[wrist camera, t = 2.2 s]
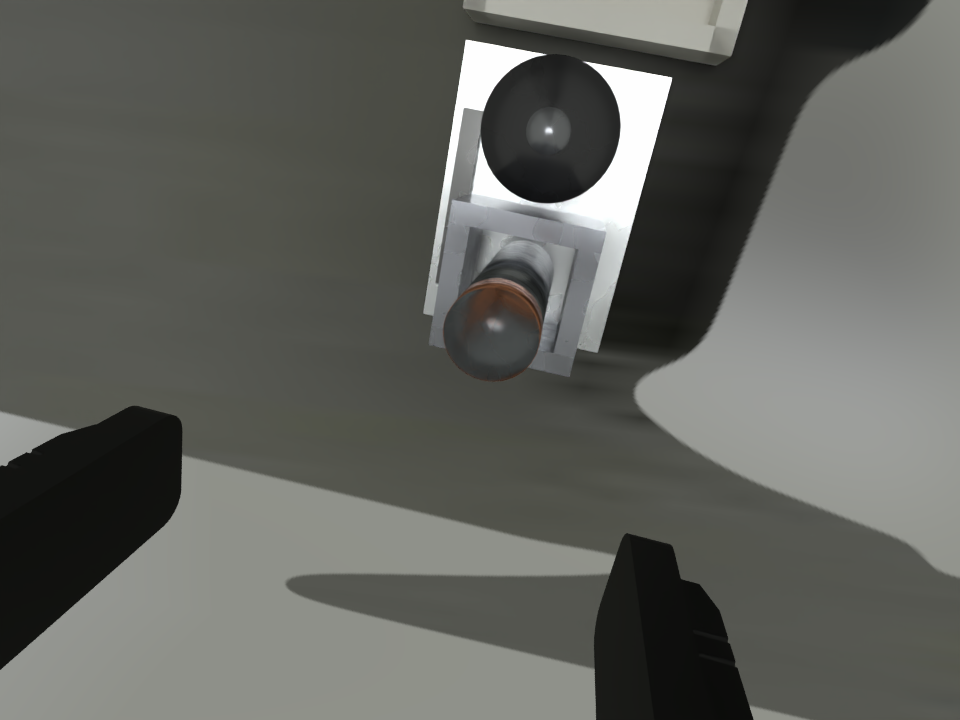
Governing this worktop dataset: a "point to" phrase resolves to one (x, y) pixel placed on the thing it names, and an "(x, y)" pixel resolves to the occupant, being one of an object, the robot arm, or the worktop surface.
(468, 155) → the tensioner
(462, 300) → the lock pin
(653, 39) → the tray
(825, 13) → the worktop surface
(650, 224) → the worktop surface
